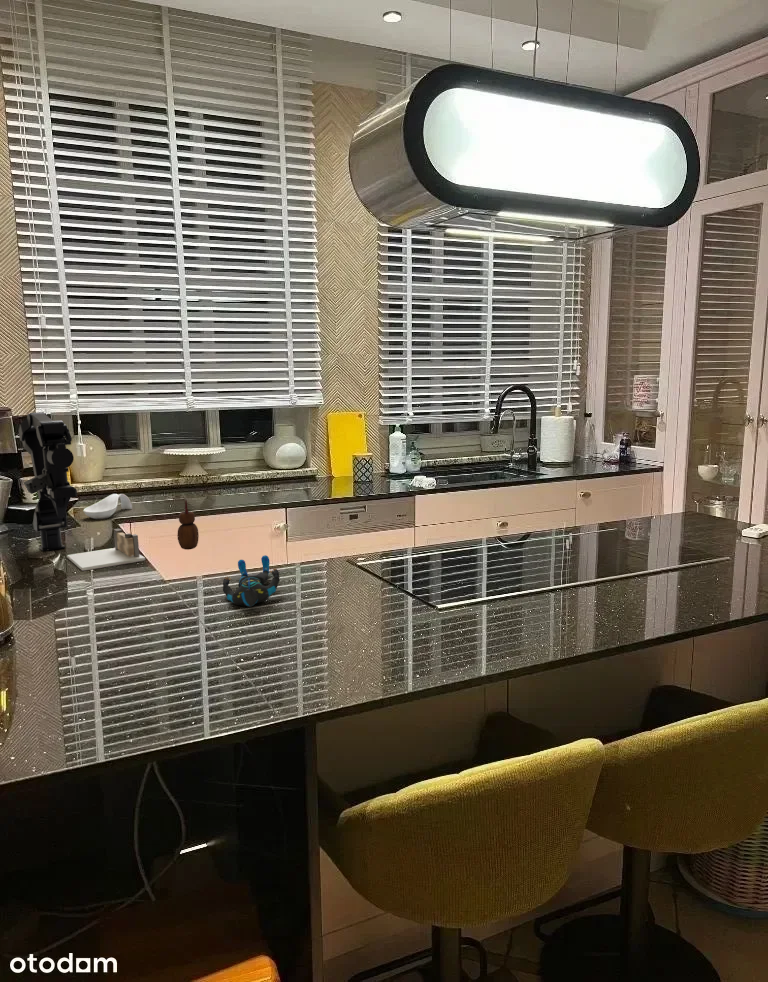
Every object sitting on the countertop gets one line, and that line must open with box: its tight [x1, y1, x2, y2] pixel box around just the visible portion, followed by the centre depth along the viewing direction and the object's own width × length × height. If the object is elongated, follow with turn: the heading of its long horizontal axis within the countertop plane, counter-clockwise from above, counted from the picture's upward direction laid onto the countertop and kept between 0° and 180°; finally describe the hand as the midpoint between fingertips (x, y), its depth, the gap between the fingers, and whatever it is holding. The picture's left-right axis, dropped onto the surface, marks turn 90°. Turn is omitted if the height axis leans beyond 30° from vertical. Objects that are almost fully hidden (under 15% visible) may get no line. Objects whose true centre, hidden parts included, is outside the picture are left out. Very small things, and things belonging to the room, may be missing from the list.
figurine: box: [222, 555, 281, 608], centre depth 177 cm, size 13×6×30 cm
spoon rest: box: [83, 493, 133, 520], centre depth 287 cm, size 24×12×7 cm, turn 168°
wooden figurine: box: [177, 500, 200, 551], centre depth 225 cm, size 7×6×15 cm
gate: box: [113, 528, 134, 556], centre depth 219 cm, size 14×2×6 cm, turn 34°
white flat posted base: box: [66, 531, 146, 572], centre depth 216 cm, size 19×17×7 cm
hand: (60, 518), depth 218 cm, fingers closed
